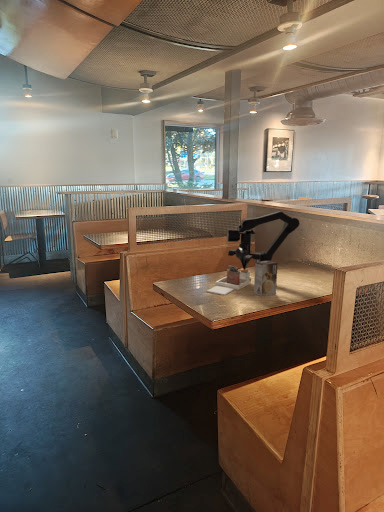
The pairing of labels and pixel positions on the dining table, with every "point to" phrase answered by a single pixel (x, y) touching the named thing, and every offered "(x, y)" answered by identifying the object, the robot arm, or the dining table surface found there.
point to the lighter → (233, 275)
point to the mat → (220, 290)
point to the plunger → (244, 270)
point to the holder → (243, 278)
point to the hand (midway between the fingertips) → (244, 269)
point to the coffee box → (265, 278)
